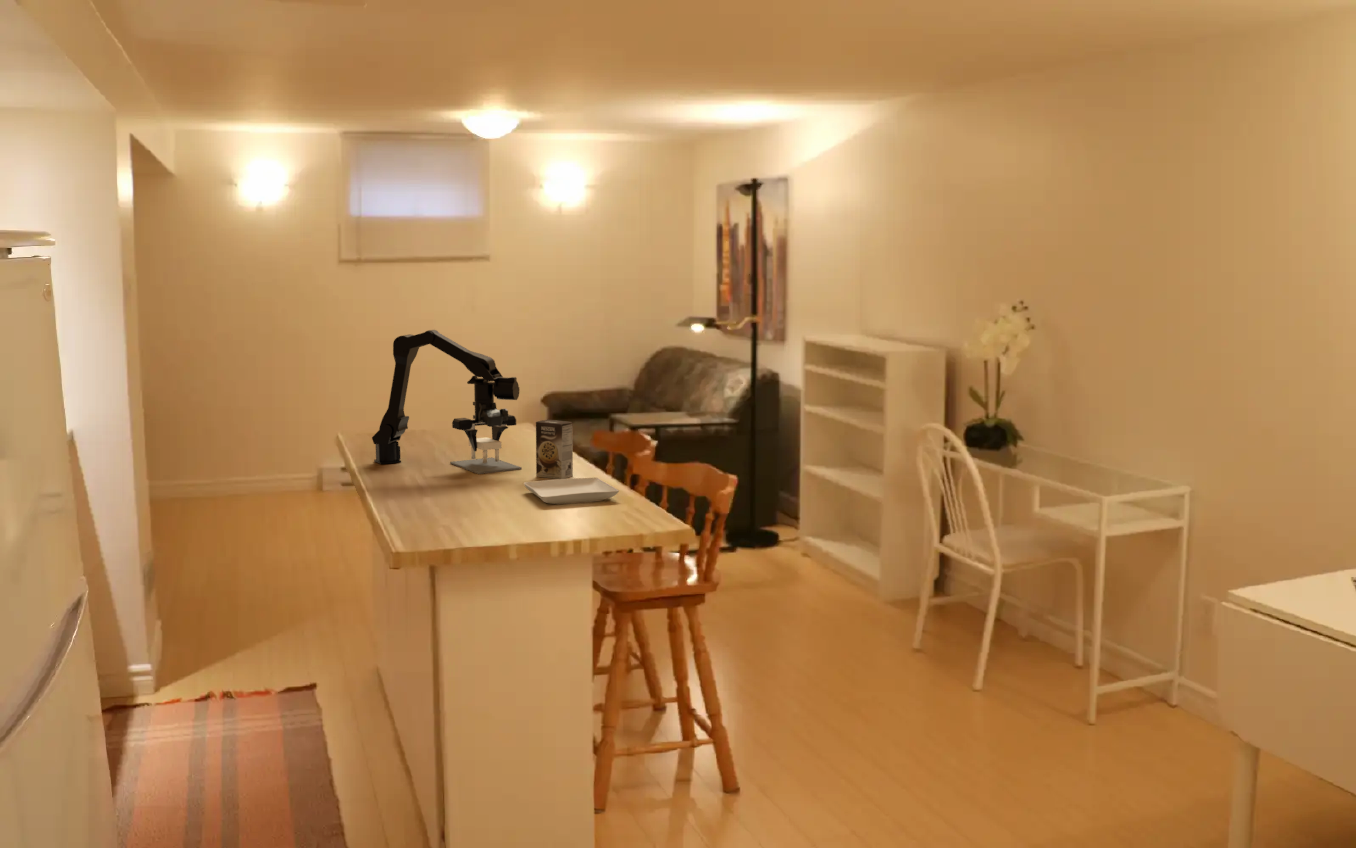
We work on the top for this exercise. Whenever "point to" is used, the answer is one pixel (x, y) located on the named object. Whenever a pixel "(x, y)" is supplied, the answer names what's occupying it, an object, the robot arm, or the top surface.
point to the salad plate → (571, 490)
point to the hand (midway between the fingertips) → (485, 450)
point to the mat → (485, 465)
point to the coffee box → (554, 449)
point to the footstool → (486, 448)
